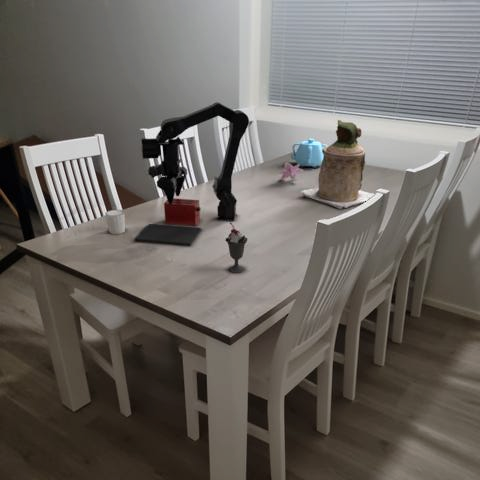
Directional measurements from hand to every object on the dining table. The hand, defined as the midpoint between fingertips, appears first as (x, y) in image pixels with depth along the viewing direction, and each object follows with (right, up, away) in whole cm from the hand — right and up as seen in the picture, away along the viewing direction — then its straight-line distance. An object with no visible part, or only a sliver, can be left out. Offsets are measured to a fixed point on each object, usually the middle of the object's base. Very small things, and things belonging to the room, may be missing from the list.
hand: (174, 199), depth 180 cm
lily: (+50, +21, +51) cm, 74 cm away
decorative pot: (+62, +38, +79) cm, 108 cm away
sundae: (+24, -30, -31) cm, 49 cm away
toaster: (+3, -8, +4) cm, 9 cm away
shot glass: (-20, -13, -4) cm, 24 cm away
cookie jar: (+69, +9, +31) cm, 76 cm away
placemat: (-1, -15, -8) cm, 17 cm away
